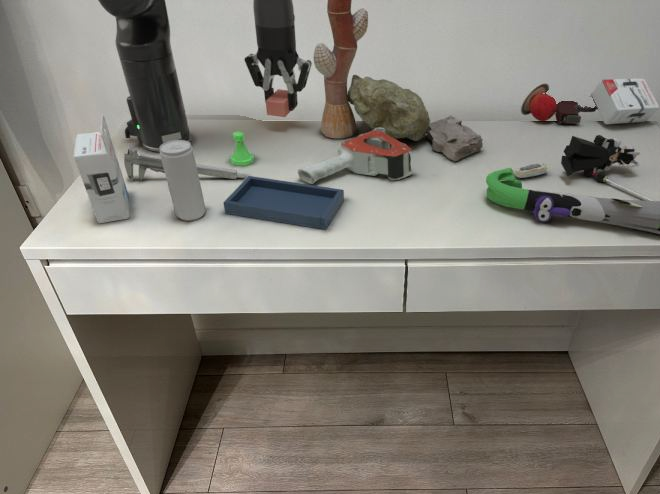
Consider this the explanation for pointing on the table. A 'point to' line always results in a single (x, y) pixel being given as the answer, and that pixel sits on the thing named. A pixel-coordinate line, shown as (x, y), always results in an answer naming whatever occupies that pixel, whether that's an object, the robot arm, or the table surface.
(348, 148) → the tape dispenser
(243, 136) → the game piece
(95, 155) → the product box
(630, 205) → the toy
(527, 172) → the bacterium model
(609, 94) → the ink box
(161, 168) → the caliper
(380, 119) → the rock
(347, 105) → the plant stem model
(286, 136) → the table surface
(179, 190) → the beverage can
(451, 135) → the stone
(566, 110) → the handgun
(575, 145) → the toy
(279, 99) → the eraser
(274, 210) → the tray
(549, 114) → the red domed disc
